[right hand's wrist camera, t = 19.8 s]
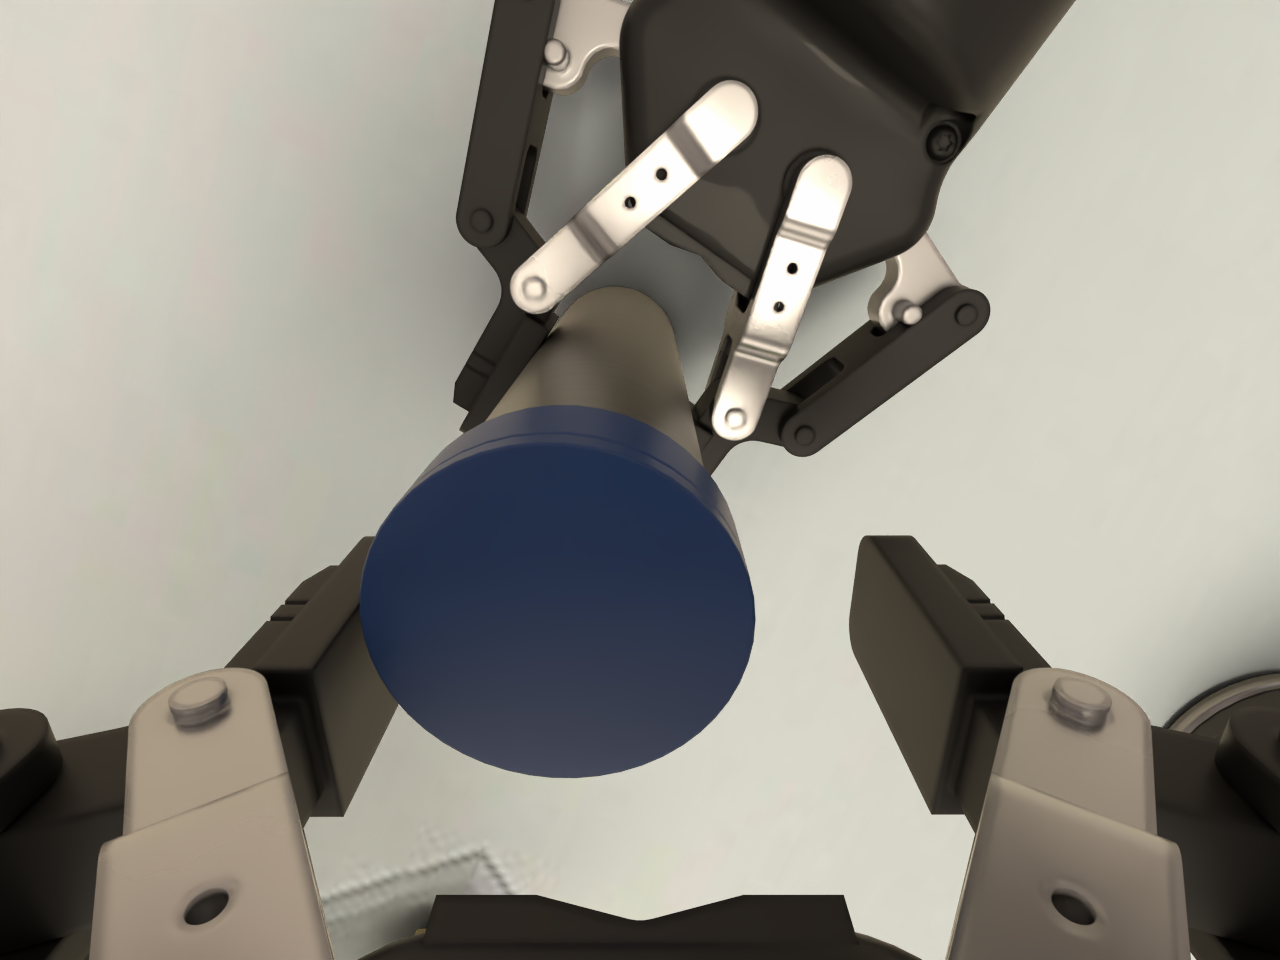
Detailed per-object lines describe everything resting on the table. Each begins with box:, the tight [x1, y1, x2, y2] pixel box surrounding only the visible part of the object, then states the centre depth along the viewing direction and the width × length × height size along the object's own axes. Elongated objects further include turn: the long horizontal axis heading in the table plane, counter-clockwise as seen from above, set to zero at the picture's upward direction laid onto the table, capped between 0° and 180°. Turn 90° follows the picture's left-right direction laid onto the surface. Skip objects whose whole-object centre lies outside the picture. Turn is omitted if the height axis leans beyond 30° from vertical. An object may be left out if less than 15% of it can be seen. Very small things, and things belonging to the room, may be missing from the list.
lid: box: [360, 405, 755, 778], centre depth 9 cm, size 5×5×2 cm
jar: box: [486, 286, 703, 466], centre depth 17 cm, size 4×4×17 cm
